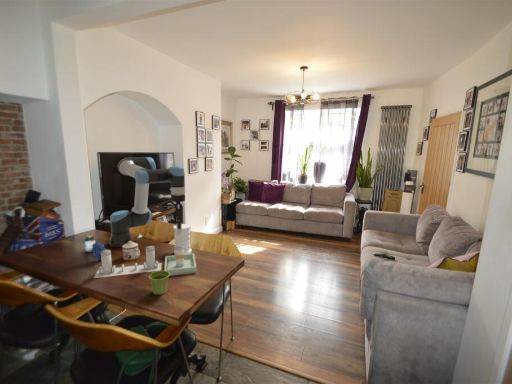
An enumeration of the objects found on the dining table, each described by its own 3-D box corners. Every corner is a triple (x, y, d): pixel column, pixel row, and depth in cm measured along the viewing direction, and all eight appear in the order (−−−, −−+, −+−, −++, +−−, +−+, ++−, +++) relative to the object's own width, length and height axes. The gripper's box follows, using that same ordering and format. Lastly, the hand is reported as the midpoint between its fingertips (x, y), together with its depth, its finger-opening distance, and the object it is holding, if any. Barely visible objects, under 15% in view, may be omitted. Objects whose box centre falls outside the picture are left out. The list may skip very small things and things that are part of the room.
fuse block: (98, 272, 142) (96, 249, 140) (161, 265, 152) (160, 243, 150) (93, 280, 133) (91, 256, 131) (161, 272, 143) (159, 249, 140)
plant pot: (163, 284, 131) (162, 268, 129) (174, 291, 125) (173, 274, 123) (145, 292, 123) (144, 275, 122) (156, 299, 117) (155, 281, 116)
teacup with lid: (119, 260, 157) (118, 242, 155) (131, 255, 165) (130, 238, 164) (134, 264, 153) (133, 245, 151) (145, 258, 161) (144, 240, 159)
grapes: (86, 262, 154) (84, 243, 152) (96, 258, 160) (95, 239, 158) (101, 265, 150) (99, 246, 148) (111, 260, 157) (109, 242, 155)
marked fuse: (176, 264, 152) (175, 244, 150) (184, 263, 153) (183, 244, 151) (176, 267, 147) (175, 247, 146) (184, 266, 149) (184, 247, 147)
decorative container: (188, 247, 180) (187, 222, 177) (194, 253, 170) (193, 227, 167) (171, 250, 174) (170, 225, 171) (176, 257, 164) (175, 230, 161)
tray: (165, 261, 157) (165, 256, 157) (194, 258, 162) (193, 253, 162) (164, 276, 139) (164, 270, 138) (196, 272, 144) (196, 266, 143)
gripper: (171, 190, 154) (172, 224, 158) (170, 198, 131) (172, 238, 134) (184, 190, 156) (185, 223, 160) (185, 198, 133) (186, 237, 136)
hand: (179, 230), depth 147 cm, fingers open, 13 cm apart
